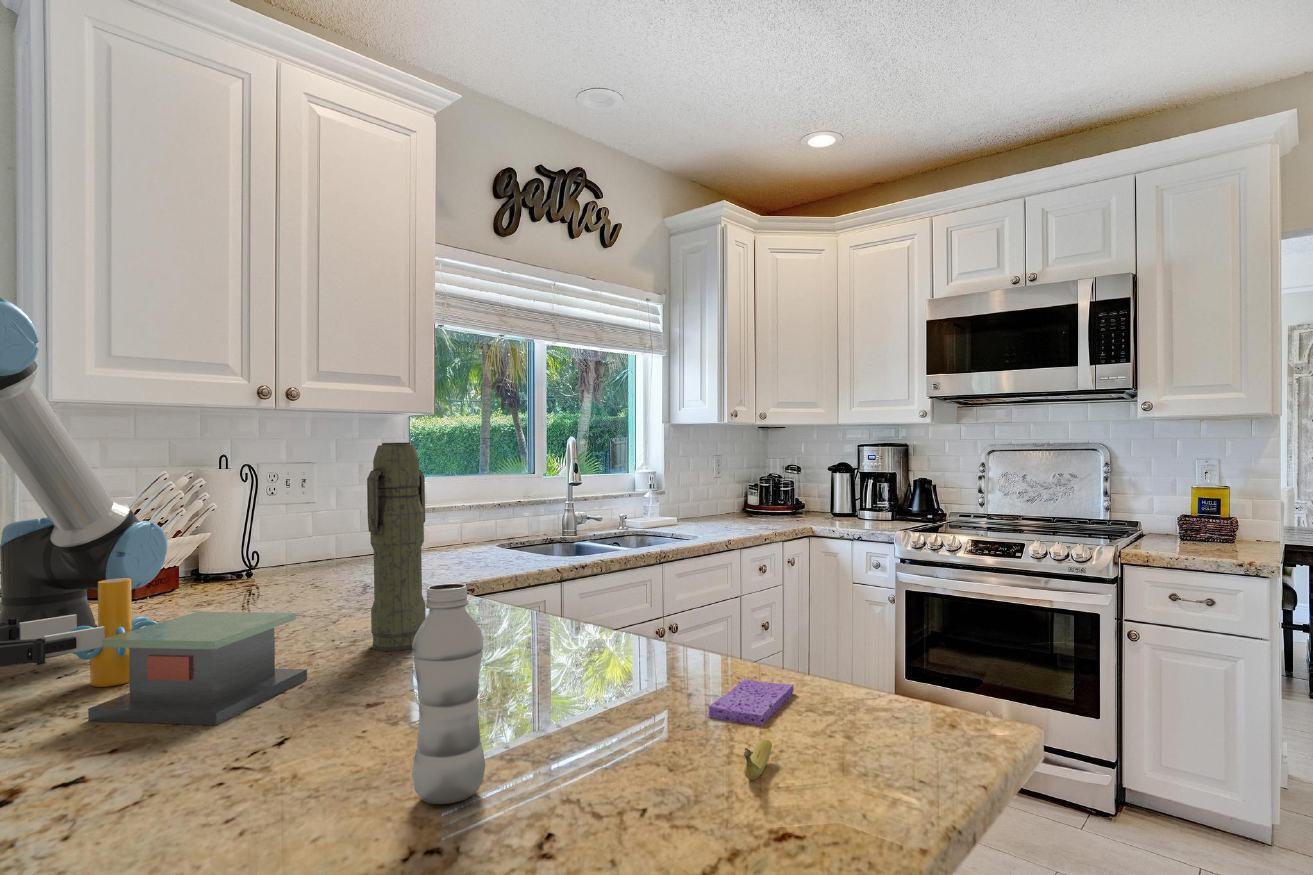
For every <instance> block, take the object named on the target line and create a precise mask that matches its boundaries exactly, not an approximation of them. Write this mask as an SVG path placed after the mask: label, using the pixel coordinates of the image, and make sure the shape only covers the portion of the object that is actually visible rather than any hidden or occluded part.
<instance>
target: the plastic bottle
mask: <svg viewBox="0 0 1313 875" xmlns="http://www.w3.org/2000/svg"><path fill="white" fill-rule="evenodd" d="M468 605H469V598H468V587H467V584H466V583H457V582H456V583H454V582H453V583H452V582H450V583H439V584H433V585H430V586H427V587H426V601H425V609H428V614H427V615H426V618H425V620H424V621H423V623H422V624H421V626H420V628H419V629H418V631H417V633H416V635H415V637H414V641H413V644H412V656H413V663H414V670H415V671H414V672H415V676H416V682H417V696H418V697H417V698H418V702H419V704H418V712H419V713H418V715H419V716H418V728H417V740H416V750H415V752H414V753H415V754H414V759H413V762H412V763H413V764H412V772H411V776H412V781H413V788H414V792H415V793H416V794H417V796H418V797H419V798H420V799H421V800H422V801H423V802H425V803H428V804H433V805H447V804H448V805H449V804H454V803H459V802H462V801H464V800H467V799H468V798H471V797H472V796H473V795H475V794H476V793H477V792H478V790H479V789H480V787H481V785H482V784H483V781H484V775H485V770H486V761H485V754H484V749H483V744H482V741H481V732H480V731H481V730H480V720H479V709H478V708H479V698H478V696H479V686H480V683H479V682H480V673H481V666H482V665H481V664H482V657H483V650H484V640H485V639H484V636H483V632H482V630H481V628H480V626H479V625H478V623H477V622H476V621H475V620H474V618H473V617H472V616H471V615H470V613H468V611H467V608H466V606H468Z"/></svg>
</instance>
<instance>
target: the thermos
mask: <svg viewBox="0 0 1313 875" xmlns="http://www.w3.org/2000/svg"><path fill="white" fill-rule="evenodd" d="M372 461H373V462H372V463H373V465H372V466H373V467H372V468H373V469H372V470H371V471H370V472H369V474H368V476H367V478H366V486H367V487H366V488H367V489H366V493H367V499H366V500H367V502H366V503H367V504H366V505H367V526H368V533H369V534H370V535H369V536H370V545H371V548H372V549H373V581H374V582H373V586H374V588H373V592H374V594H373V595H374V599H373V603H372V607H371V610H370V618H371V619H370V620H371V622H370V623H371V625H370V626H371V631H370V632H371V633H372V649H373V650H376V651H380V652H397V651H405V650H410V649H412V650H413V648H412V644H413V641H414V637H415V635H416V633H417V631H418V629H419V628H420V626H421V624H422V623H423V621H424V620H425V618H426V617H427V614H426V609H427V608H426V601H425V599H424V596H423V579H422V578H423V575H422V574H423V572H422V570H423V568H422V567H423V566H422V565H423V564H422V547H423V544H424V541H425V528H424V527H425V526H424V524H425V522H426V488H425V487H426V486H425V484H426V483H425V482H426V481H425V480H426V478H425V475H424V473H423V470H421V469H420V458H419V455H418V451H417V449H416V447H415V444H411V442H382V444H381V445H377V448H376V451H375V454H374V457H373V460H372Z"/></svg>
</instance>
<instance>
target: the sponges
mask: <svg viewBox="0 0 1313 875" xmlns="http://www.w3.org/2000/svg"><path fill="white" fill-rule="evenodd" d="M794 690H795V689H794V684H791V683H790V684H789V683H777V682H768V681H759V680H755V679H754V680H752V679H746V678H744V679H742V680H741V681H740V682H739V683H738V684H736V685H735V686H734V687H732V688H731V689H730V690H729V691H727V692H726V693H725V694H723V695H722V696H720V697H719V698H718V699H716V700H715V701H713V702H712V703H710V704H709V705H708V718H713V719H719V720H724V721H725V720H726V721H731V722H739V723H744V724H752V725H758V726H763V725H764V724H765V723H766V722H767V721H769V719H770V718H771V717H772V716H773V715H774V714H775V713H776V712H777V711H778V710H779V709H780V708H781V707H782V706H783V705H784V704H785V703H786V702H787V701H788V700H789V699H790V698H791V697H792V696H793V693H794Z"/></svg>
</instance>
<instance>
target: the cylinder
mask: <svg viewBox="0 0 1313 875" xmlns="http://www.w3.org/2000/svg"><path fill="white" fill-rule="evenodd" d="M97 618H98V619H97V625H98V627H102V626H103V627H105V638H108V637H112V636H115V635H119V634H122V633H126V632H129V631H133V630H136V629H140V628H143V627H147V626H150V625H153V624H157V623H158V622H157V621H155V620H150V619H149V618H148V617H146V616H137V617H135V618H134V619H133V618H132V589H131V578H118V579H109V580H103V581H99V582H98V590H97ZM90 628H92V627H90V626H79V627H76V628H74V629H72V630H71V631H70V632H72V631H78V630H84V629H90ZM71 654H73V655H75V656H77V657H78V659H80V660H84V661H88V660H89V684H90V685H91V686H92V687H95V688H96V687H97V688H103V687H104V688H106V687H107V688H109V687H114V686H121V685H125V684H129V648H117V647H100V648H94V649H89V650H83V651H78V652H72V653H71Z"/></svg>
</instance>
